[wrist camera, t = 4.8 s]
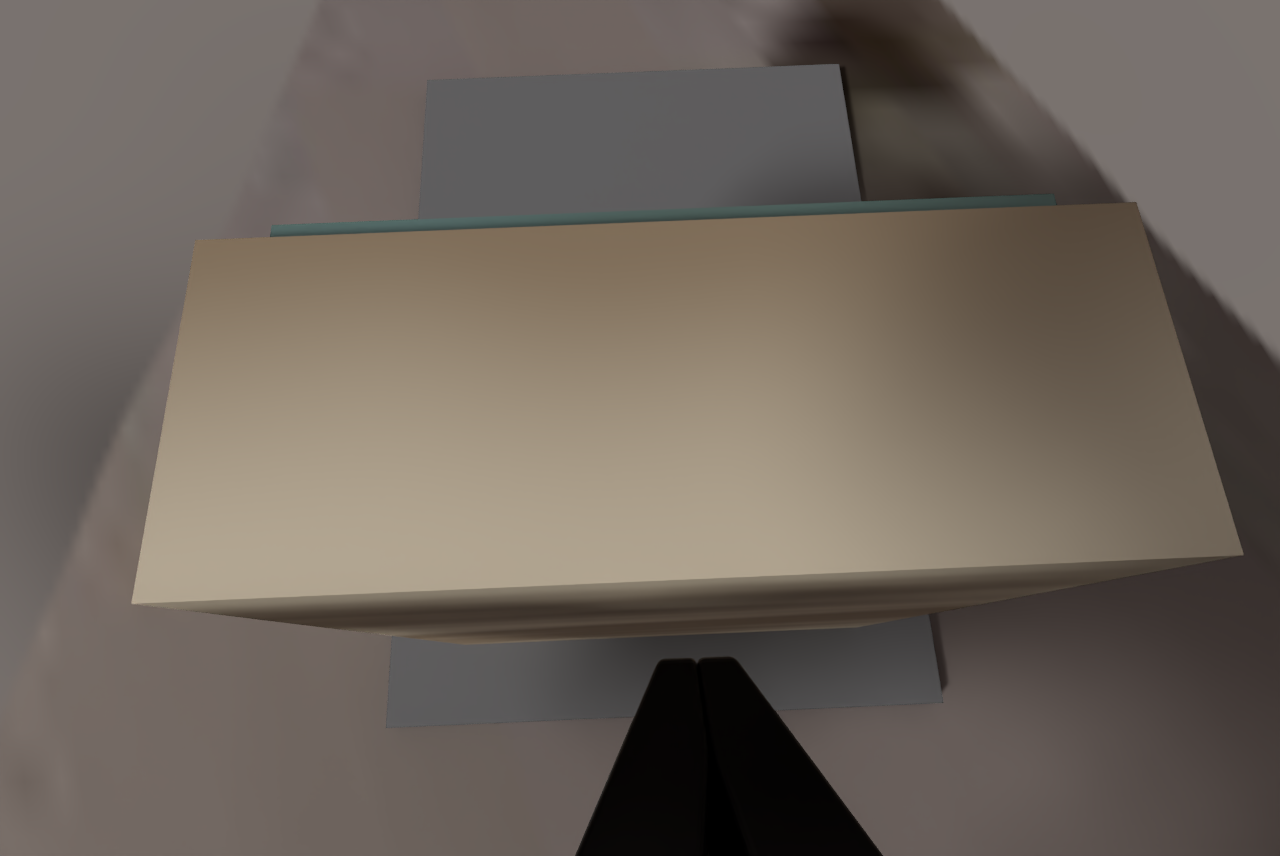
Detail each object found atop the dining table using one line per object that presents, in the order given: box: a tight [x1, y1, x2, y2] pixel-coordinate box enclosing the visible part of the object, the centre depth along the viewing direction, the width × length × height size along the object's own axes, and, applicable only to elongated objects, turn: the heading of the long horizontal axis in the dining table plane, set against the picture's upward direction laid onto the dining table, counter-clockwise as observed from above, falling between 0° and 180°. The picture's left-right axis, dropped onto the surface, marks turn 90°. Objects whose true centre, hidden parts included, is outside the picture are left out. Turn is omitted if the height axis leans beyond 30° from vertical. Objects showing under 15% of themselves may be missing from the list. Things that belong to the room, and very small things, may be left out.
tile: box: [132, 194, 1244, 645], centre depth 10 cm, size 3×8×10 cm, turn 92°
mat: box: [386, 64, 943, 728], centre depth 17 cm, size 16×11×1 cm
